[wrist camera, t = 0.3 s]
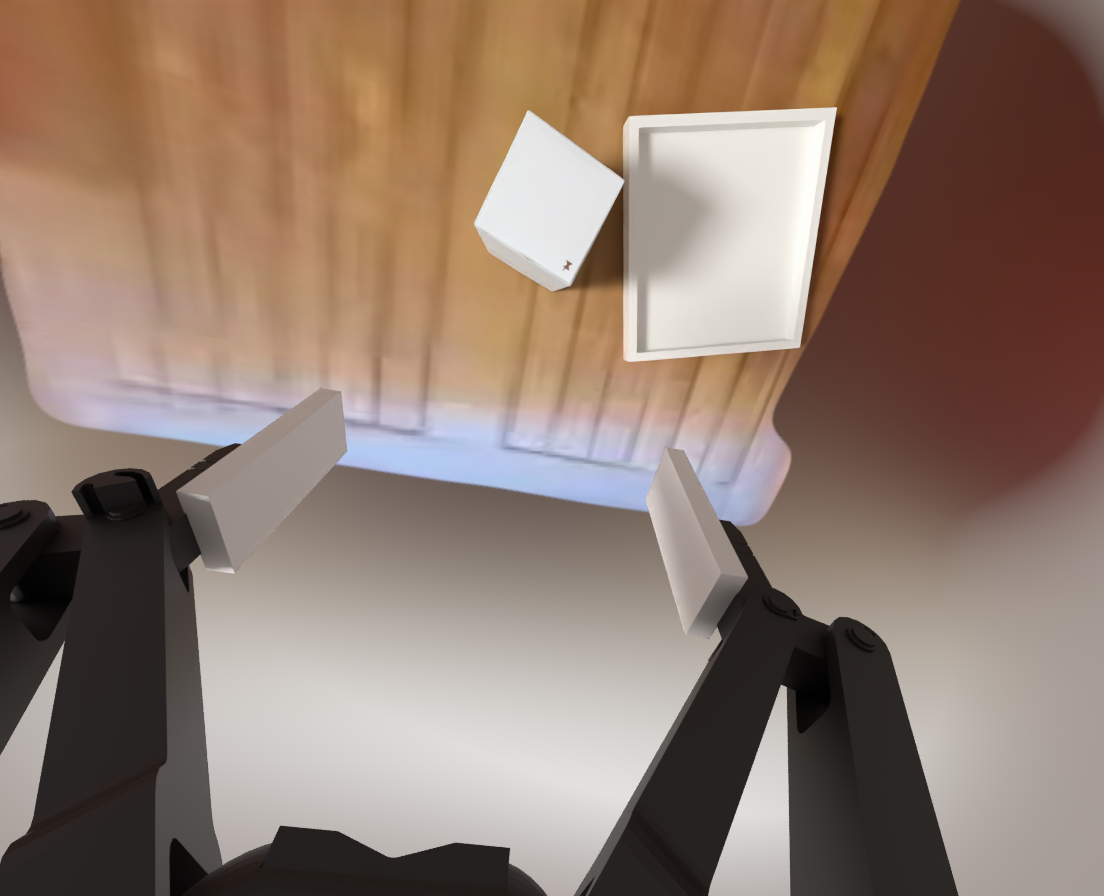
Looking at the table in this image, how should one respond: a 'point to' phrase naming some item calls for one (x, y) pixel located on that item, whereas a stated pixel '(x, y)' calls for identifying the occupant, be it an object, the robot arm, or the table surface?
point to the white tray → (720, 229)
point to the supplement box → (546, 205)
